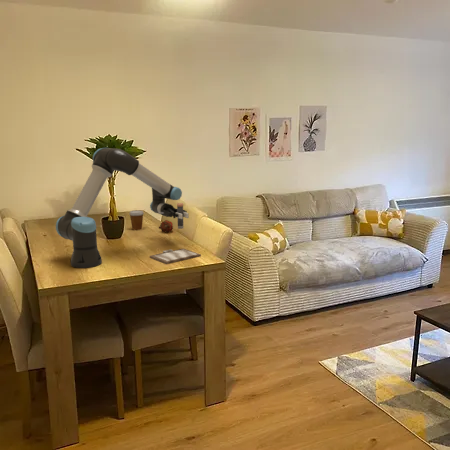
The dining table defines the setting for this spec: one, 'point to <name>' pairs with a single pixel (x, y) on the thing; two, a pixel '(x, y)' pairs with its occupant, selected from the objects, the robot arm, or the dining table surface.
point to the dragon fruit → (166, 226)
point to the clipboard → (174, 256)
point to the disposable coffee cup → (136, 219)
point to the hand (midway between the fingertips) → (184, 216)
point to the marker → (180, 210)
